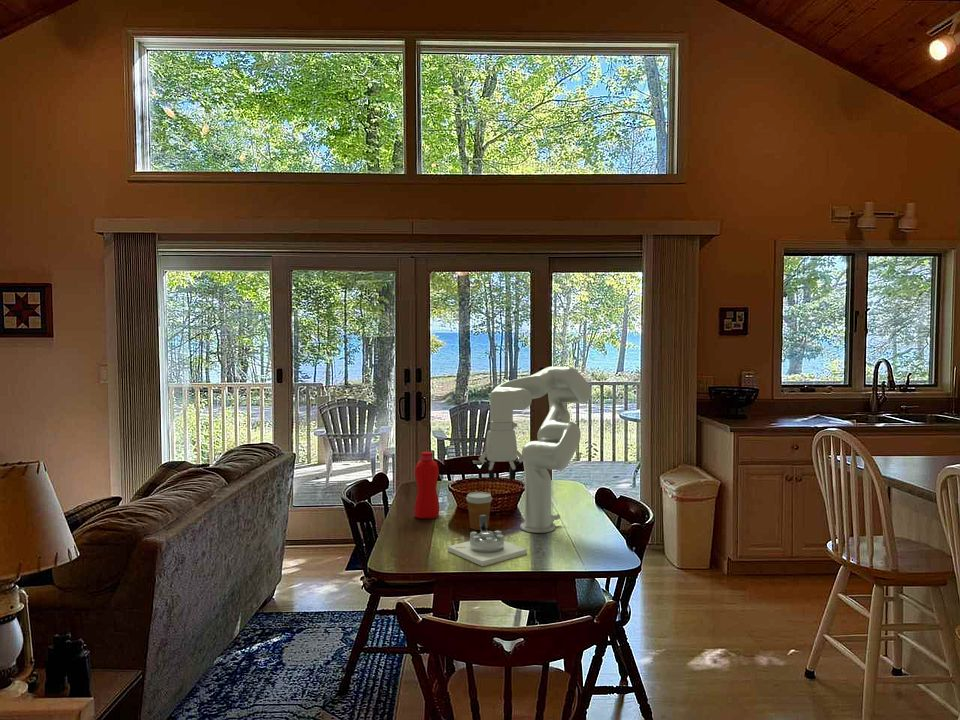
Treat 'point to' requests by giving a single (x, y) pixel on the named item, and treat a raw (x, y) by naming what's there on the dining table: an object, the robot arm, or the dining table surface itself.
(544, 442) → the robot arm
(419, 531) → the dining table surface
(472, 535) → the silver lever knob
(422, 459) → the water bottle
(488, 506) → the disposable coffee cup
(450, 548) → the base plate
